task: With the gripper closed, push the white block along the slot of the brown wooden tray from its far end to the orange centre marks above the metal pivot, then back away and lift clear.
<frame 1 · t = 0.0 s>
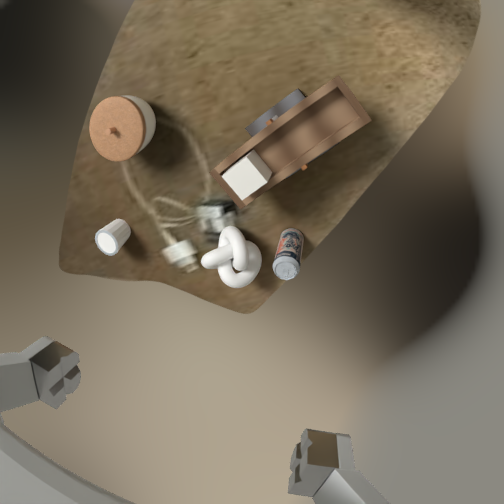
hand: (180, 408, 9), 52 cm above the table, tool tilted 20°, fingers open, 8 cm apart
brown wooden tray: (292, 133, 53), on the table
shot glass: (121, 228, 73), on the table
white block: (247, 174, 47), point 11 cm above the table, slide at 7.5 cm
lidded bowl: (139, 120, 57), on the table
white knot sculpture: (240, 248, 68), on the table
beer can: (292, 237, 64), on the table
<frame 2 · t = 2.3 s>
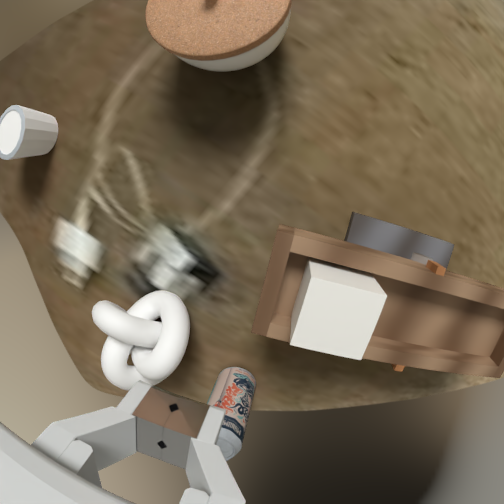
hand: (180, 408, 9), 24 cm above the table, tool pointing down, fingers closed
brown wooden tray: (387, 281, 31), on the table
shot glass: (45, 134, 33), on the table
white block: (334, 306, 21), point 11 cm above the table, slide at 7.5 cm
lidded bowl: (235, 37, 28), on the table
white knot sculpture: (158, 327, 37), on the table
beer can: (237, 379, 37), on the table
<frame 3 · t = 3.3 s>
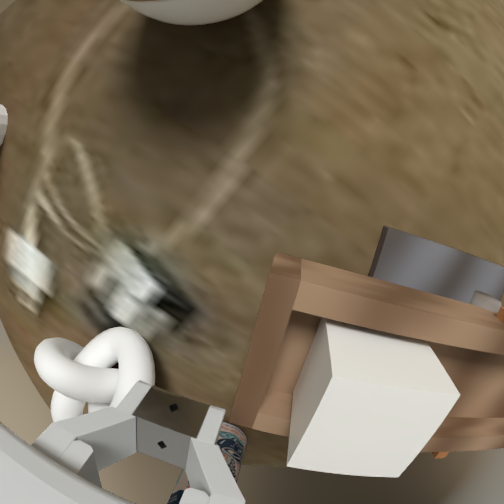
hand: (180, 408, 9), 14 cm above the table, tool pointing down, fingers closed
brown wooden tray: (425, 320, 21), on the table
white block: (364, 396, 11), point 11 cm above the table, slide at 7.5 cm
white knot sculpture: (124, 368, 27), on the table
beer can: (224, 433, 27), on the table
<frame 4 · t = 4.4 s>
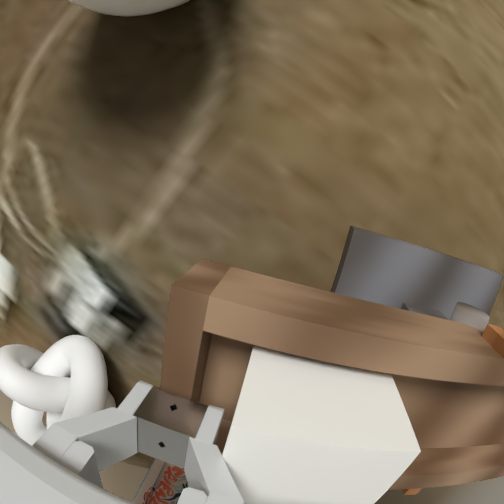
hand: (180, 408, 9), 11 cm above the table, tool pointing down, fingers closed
brown wooden tray: (403, 332, 19), on the table
white block: (304, 436, 9), point 11 cm above the table, slide at 7.4 cm, touching gripper
white knot sculpture: (86, 377, 25), on the table
beer can: (189, 446, 25), on the table
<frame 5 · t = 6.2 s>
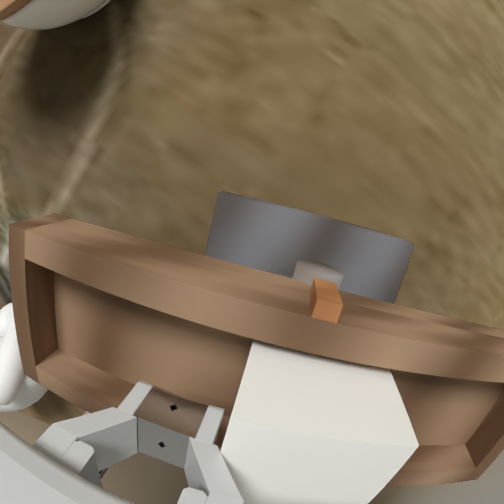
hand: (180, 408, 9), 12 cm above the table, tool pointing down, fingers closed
brown wooden tray: (293, 305, 20), on the table
white block: (303, 431, 9), point 11 cm above the table, slide at -0.6 cm, touching gripper
white knot sculpture: (30, 343, 25), on the table
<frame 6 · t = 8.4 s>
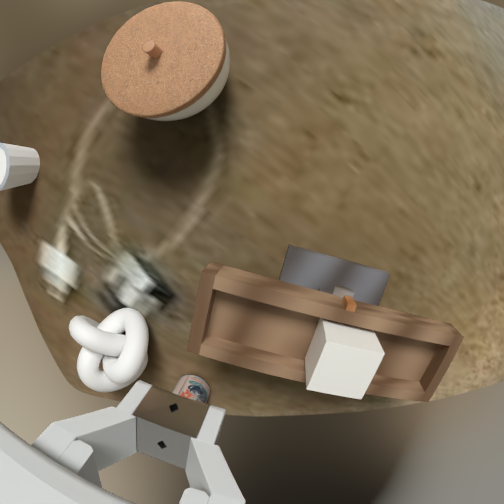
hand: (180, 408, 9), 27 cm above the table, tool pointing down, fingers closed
brown wooden tray: (324, 306, 36), on the table
shot glass: (29, 165, 37), on the table
white block: (341, 356, 25), point 11 cm above the table, slide at -0.6 cm
lidded bowl: (187, 80, 32), on the table
white knot sculpture: (127, 338, 41), on the table
beer can: (194, 385, 41), on the table
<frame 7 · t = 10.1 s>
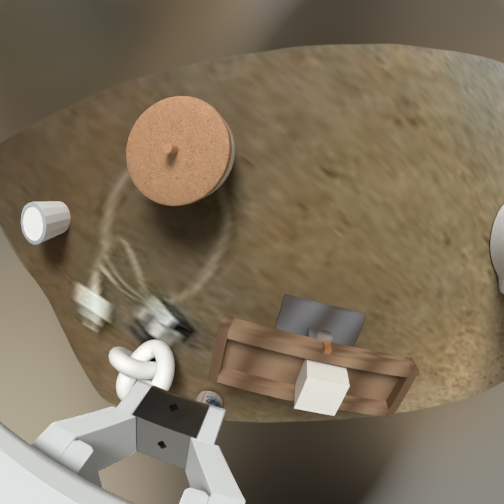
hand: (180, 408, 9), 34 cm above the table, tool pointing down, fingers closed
brown wooden tray: (313, 339, 45), on the table
shot glass: (60, 217, 47), on the table
white block: (320, 384, 34), point 11 cm above the table, slide at -0.6 cm
lidded bowl: (199, 155, 41), on the table
white knot sculpture: (154, 362, 50), on the table
beer can: (210, 398, 50), on the table
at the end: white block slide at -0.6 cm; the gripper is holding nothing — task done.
